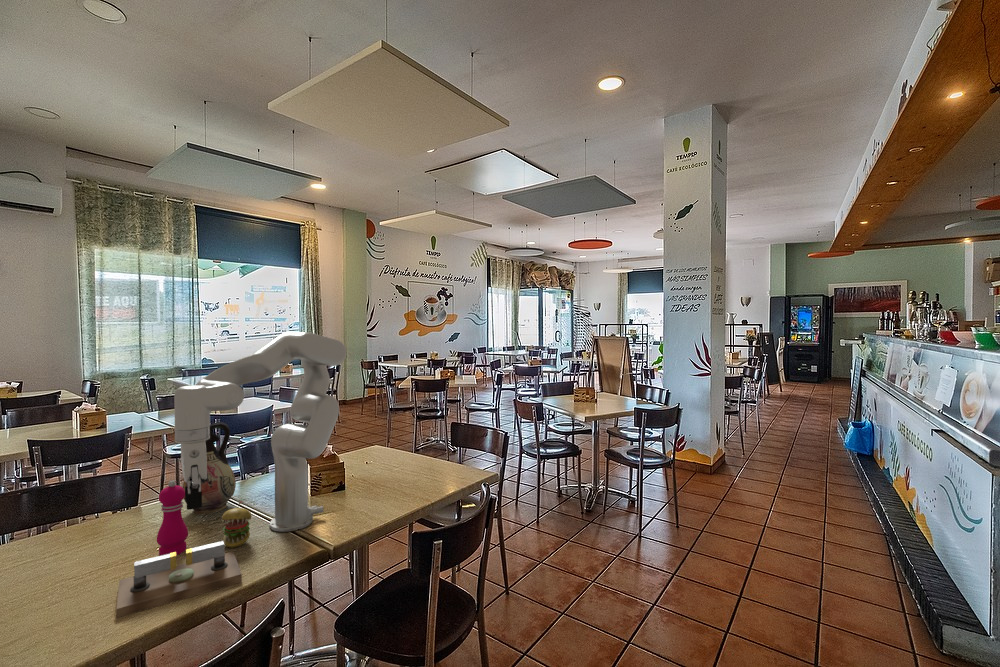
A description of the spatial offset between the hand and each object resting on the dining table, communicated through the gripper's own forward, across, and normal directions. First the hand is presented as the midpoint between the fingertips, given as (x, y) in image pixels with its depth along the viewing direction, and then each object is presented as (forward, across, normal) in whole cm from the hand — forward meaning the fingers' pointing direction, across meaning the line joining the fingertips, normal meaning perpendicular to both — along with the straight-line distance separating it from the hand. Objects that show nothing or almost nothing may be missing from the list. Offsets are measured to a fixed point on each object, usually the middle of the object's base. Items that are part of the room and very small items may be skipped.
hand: (193, 503), depth 121 cm
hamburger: (+18, +10, -11) cm, 23 cm away
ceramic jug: (+18, +42, -8) cm, 46 cm away
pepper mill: (+18, +15, +4) cm, 24 cm away
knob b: (+15, -6, +8) cm, 18 cm away
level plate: (+17, -6, +3) cm, 19 cm away
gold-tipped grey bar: (+15, -6, -2) cm, 16 cm away
